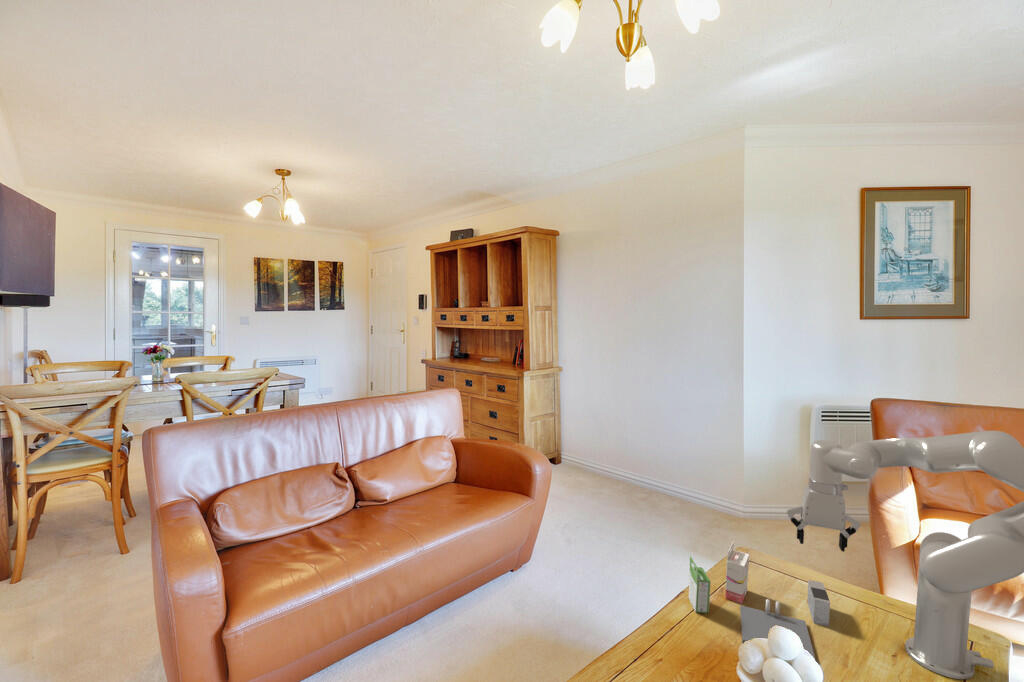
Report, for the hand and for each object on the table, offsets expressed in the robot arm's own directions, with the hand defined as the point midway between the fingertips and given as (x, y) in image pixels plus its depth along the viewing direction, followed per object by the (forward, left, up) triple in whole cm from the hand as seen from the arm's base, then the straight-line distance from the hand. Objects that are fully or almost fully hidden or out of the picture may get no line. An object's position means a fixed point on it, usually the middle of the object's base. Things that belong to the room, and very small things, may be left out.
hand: (821, 545), depth 130 cm
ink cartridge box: (+21, 0, -21) cm, 29 cm away
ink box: (+31, +10, -21) cm, 38 cm away
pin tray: (+12, +14, -20) cm, 27 cm away
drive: (0, 0, -20) cm, 20 cm away
